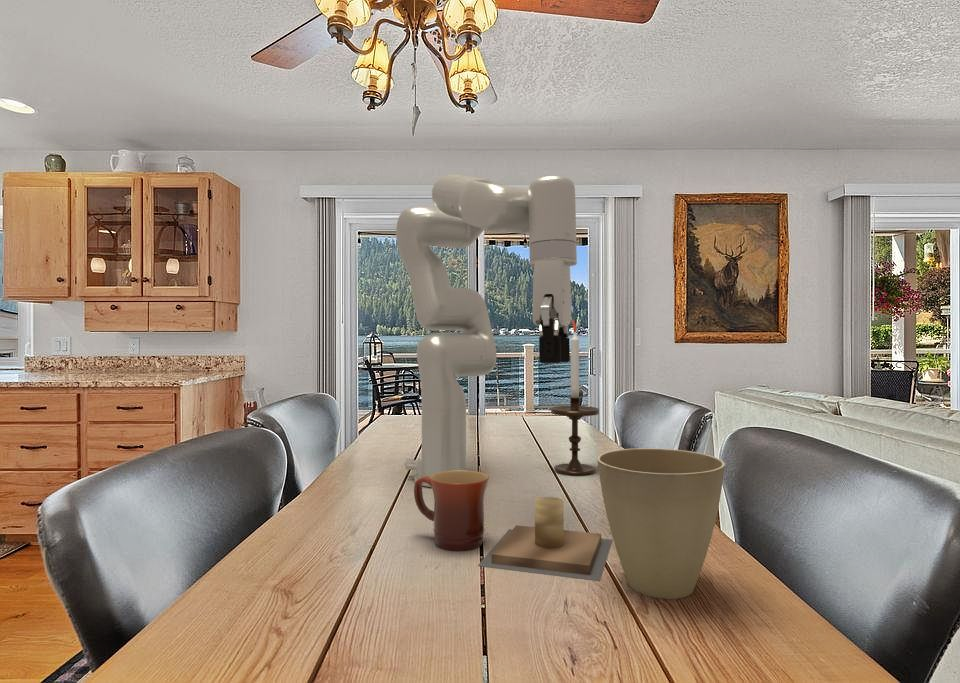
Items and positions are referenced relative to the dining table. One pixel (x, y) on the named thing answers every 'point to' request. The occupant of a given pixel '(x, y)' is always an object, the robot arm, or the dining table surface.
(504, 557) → the lid
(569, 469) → the candlestick
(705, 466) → the plant pot
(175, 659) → the dining table surface
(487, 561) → the mat
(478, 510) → the mug
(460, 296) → the robot arm
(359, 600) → the dining table surface
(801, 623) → the dining table surface
